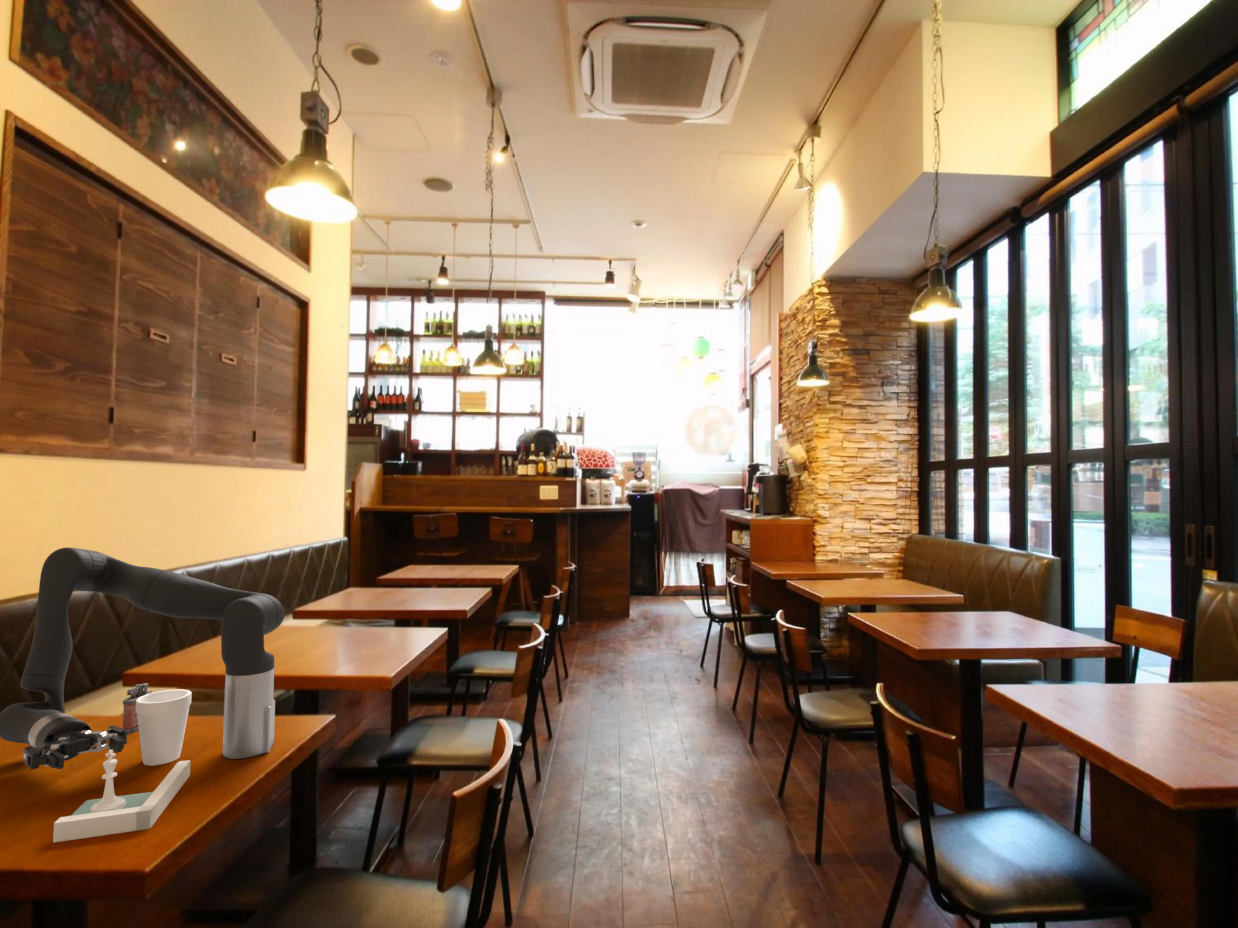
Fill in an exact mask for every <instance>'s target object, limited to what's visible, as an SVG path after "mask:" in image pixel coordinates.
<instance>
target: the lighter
mask: <svg viewBox="0 0 1238 928" xmlns="http://www.w3.org/2000/svg"><path fill="white" fill-rule="evenodd" d="M148 688H149V683H148V682H146V683H145V682H144V683H142V684H141V683H138V684H135V685H134V686H133V687H131V688H129V689H128V690H127V691H126V692H127V693H126V695H127V696H128V697H126V698H125V699H123V700H122V705H123V711H122V712H123V713H122V728H123V729H125V730H127V735H129V734H134V733H135V732H139V726H138V718H137V713H136V700H137V699H138V698H139V697H141V696H144V695H146V694H150V693H154V692H153V691H152V690H148Z"/></svg>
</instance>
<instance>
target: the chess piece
mask: <svg viewBox="0 0 1238 928" xmlns="http://www.w3.org/2000/svg"><path fill="white" fill-rule="evenodd" d="M116 754H117V753H114V751H113V750H110V749H109V750H108V752H107V753H105V757H107V760H105V761H103V763H102V766H103V768H104V771H105V773H104V774H103V775H102V776H101V779H102V780H105V783H104V790H103V795H102V797H101V798H102V799H101V800H100V802H98V803H96V804H94V805H93V806H92V807H91V811H90V813H96V812H103V811H110V810H118V809H122V808H123V807H125V805H126V800H125V799H124V798H117V796H118V795H116V793H115V787H114V778H115V777H117V776H118V773H117V772H116V771H115V768H116V765H117V763H118V759H116V758H115V757H117V756H116Z"/></svg>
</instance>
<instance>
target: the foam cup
mask: <svg viewBox="0 0 1238 928" xmlns="http://www.w3.org/2000/svg"><path fill="white" fill-rule="evenodd" d="M191 704H192V691H190V690H189V689H181V688H179V689H178V688H177V689H167V690H159V691H155V692H153V693H150V694H146V695H144V696H141V697H139V698H138V699H137V700H136V713H137V718H138V726H139V730H138V734H139V742H140V751H141V759H142V764H143V765H145V766H159V765H164V764H168V763H169V764H170V763H171V762H173V761H176V760H177V759H179V758H180V756H181V753H182V749H183V744H184V739H185V731H186V727H187V722H188V718H189V717H188V716H189V711H190V705H191Z"/></svg>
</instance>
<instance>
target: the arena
mask: <svg viewBox="0 0 1238 928" xmlns="http://www.w3.org/2000/svg"><path fill="white" fill-rule="evenodd" d="M190 776H191V760H190V759H188V760H186V759H185V760H180V761H177V762H176V764H175V765H174V766H173V768H172V769H171V770H170V771H169V772H168V774H167V775H166V776H165V777H164V779H162V780H161V782H160V783H159V785H157V786H156V788H155V789H154V791H149V792H147V791H146V792H141V793H133V794H126V795H116V796H117V798H124V799H125V800H126V805H125V807H123V808H122V809H118V810H110V811H103V812H96V813H90V811H91V807H92V806H93V805H94V804H96V803H98V802H100V800H101V799H102V798H103V797H101V798H95V799H86V801H84V802H83V803H82V804H81V805H80V806H79V807H78V808H77V809H76V810H75V811H74V812H73V813H72V814H71V815H67V816H59V818H58V819H57V820H56V821H54V823H53V835H52V842H53V843H60V842H61V843H62V842H67V841H73V840H80V839H88V838H93V837H94V838H95V837H102V836H107V835H108V836H110V835H116V834H124V833H129V832H136V831H142V830H150V829H151V828H152V827H153V826H154V824H155V823H156V822H157V820H158V819H159V818H160V816H161V815H162V813H163V812H164V811H165V809H166V808H167V807H168V805H169V804H170V803H171V801H172V800H174V797H175V796H176V795H177V793H178V792H179V791H180V790H181V788H182V787H183V786H184V785H185V783H186V781H188V779H189V777H190Z"/></svg>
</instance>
